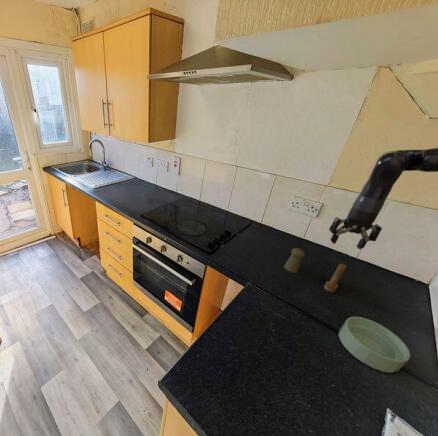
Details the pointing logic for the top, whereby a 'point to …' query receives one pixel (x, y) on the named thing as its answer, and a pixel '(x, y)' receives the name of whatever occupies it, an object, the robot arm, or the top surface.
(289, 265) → the cork
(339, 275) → the muddler
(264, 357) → the top surface
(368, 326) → the bowl
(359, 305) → the top surface
